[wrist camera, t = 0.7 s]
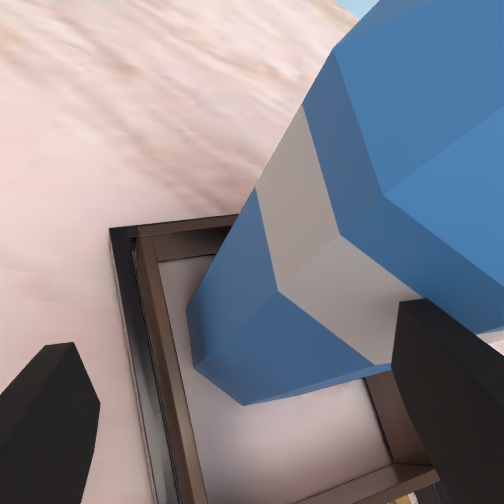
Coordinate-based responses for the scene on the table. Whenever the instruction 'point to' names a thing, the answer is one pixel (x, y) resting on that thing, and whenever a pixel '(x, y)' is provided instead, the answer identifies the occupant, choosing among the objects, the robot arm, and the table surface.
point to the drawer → (174, 400)
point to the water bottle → (367, 208)
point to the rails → (148, 402)
